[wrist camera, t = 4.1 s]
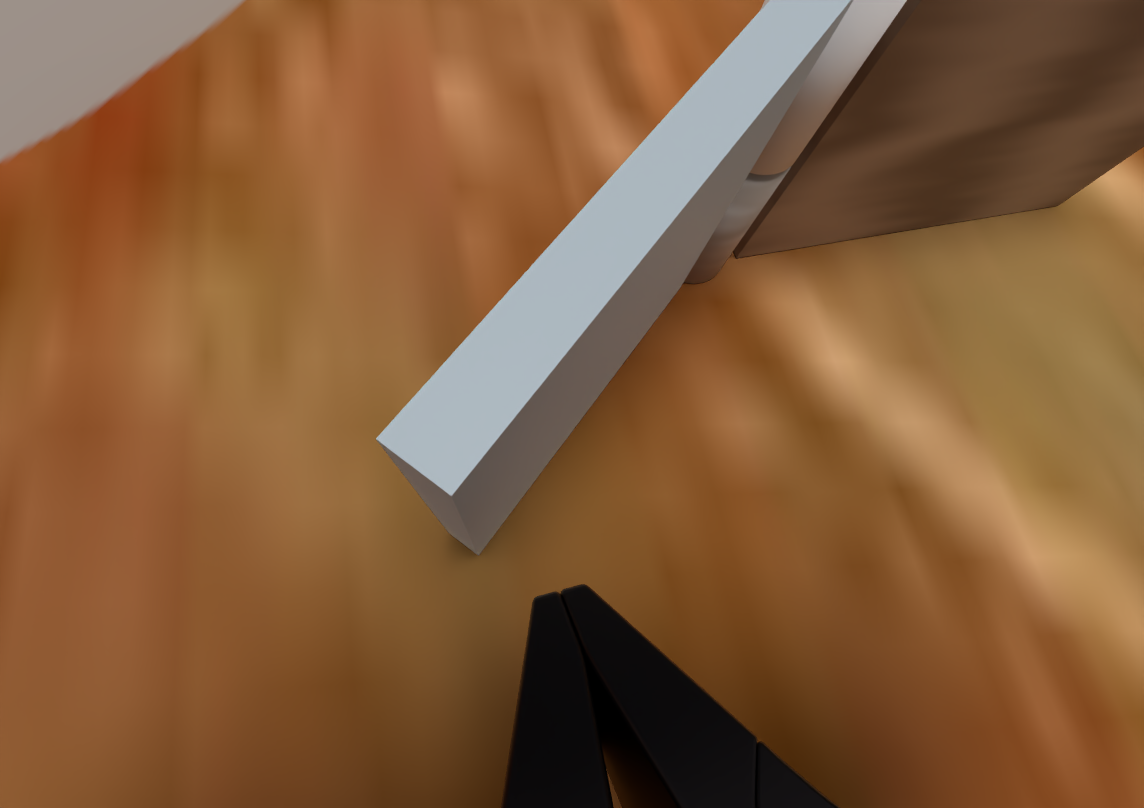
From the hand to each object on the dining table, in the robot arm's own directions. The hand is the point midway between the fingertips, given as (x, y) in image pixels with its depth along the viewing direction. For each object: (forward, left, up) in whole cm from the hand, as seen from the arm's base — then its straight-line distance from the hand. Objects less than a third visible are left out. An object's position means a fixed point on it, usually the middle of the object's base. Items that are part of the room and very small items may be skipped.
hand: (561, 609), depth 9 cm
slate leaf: (+2, -7, -6) cm, 10 cm away
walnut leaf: (-4, -17, -7) cm, 19 cm away
